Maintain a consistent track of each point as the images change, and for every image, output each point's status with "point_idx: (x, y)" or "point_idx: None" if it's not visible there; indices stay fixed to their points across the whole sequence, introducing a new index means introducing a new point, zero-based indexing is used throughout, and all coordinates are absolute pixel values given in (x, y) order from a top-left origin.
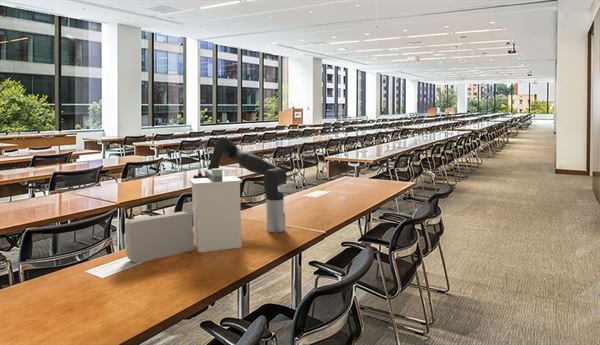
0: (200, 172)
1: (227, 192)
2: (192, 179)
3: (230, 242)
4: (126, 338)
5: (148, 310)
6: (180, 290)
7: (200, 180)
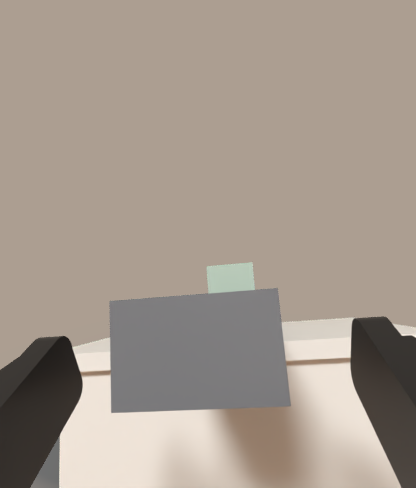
0: (367, 321)
1: None
2: (399, 329)
3: None
4: None
5: None
6: None
7: (326, 326)
